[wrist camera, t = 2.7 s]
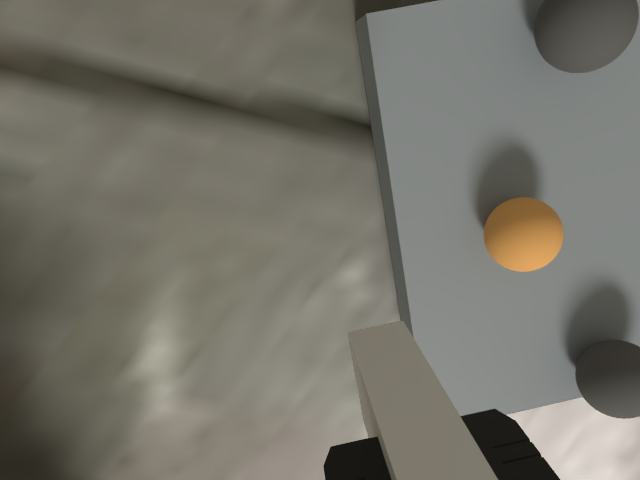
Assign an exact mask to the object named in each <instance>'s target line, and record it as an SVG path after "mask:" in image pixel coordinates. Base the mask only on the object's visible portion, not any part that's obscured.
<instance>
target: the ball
mask: <svg viewBox="0 0 640 480" xmlns="http://www.w3.org/2000/svg"><path fill="white" fill-rule="evenodd" d="M563 238H564V231H563V226H562V222H561V220H560V218H559V216H558V215H557V213H556V212H555V211H554V210H553V209H552V208H551V207H550V206H549V205H547V204H546V203H544V202H542V201H540V200H537V199H534V198H528V197H520V198H514V199H510V200H508V201H505V202H503V203H502V204H500V205H499V206H497V207H496V208H495V209H494V210H493V211H492V213H491V214H490V215H489V217H488V219H487V221H486V224H485V227H484V242H485V246H486V248H487V251H488V252H489V254H490V255H491V257H492V258H493V259H494V260H495V261H496V262H497V263H498V264H500V265H501V266H503V267H505V268H507V269H510V270H513V271H519V272H529V271H534V270H537V269H540V268H542V267H544V266H546V265H547V264H549V263H550V262H551V261H552V260H553V259H554V258H555V257H556V256H557V254H558V253H559V251H560V249H561V246H562V243H563Z"/></svg>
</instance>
